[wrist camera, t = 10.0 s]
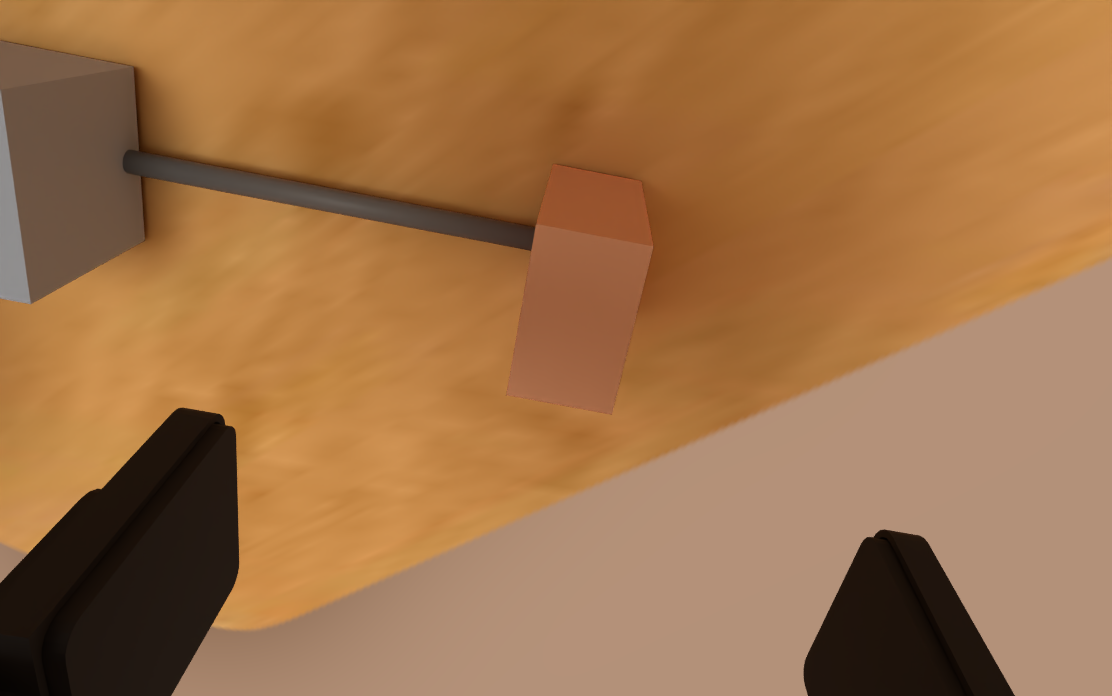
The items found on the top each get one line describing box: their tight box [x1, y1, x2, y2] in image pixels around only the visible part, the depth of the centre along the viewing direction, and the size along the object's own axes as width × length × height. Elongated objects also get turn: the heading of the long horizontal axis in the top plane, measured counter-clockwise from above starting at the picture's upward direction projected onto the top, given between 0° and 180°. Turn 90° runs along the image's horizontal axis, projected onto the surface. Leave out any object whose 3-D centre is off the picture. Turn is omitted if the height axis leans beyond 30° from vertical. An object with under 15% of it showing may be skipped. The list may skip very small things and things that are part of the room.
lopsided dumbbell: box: [0, 41, 654, 415], centre depth 23 cm, size 6×23×7 cm, turn 80°
